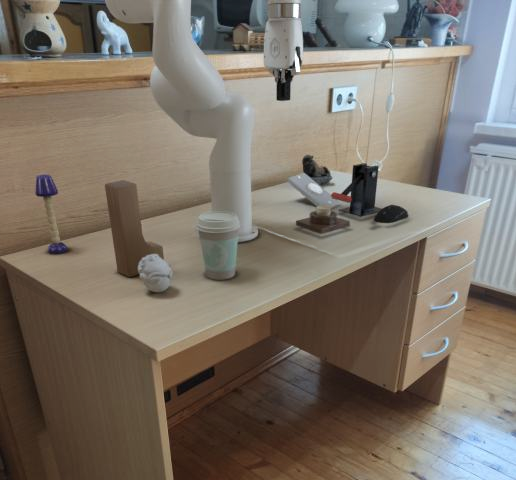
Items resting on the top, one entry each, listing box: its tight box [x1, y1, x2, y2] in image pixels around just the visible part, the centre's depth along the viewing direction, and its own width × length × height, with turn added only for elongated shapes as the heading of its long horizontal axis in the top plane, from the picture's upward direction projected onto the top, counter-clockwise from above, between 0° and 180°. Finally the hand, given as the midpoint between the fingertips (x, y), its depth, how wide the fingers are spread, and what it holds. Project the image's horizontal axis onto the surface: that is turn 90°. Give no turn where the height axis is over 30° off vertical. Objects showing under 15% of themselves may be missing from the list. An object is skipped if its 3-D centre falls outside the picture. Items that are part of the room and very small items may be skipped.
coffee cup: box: [195, 211, 240, 281], centre depth 105 cm, size 8×9×12 cm
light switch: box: [286, 172, 341, 207], centre depth 153 cm, size 8×6×14 cm
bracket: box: [338, 162, 383, 218], centre depth 142 cm, size 10×8×13 cm
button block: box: [295, 210, 351, 235], centre depth 133 cm, size 10×9×4 cm
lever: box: [330, 164, 371, 204], centre depth 139 cm, size 12×6×2 cm, turn 130°
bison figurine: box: [301, 154, 333, 186], centre depth 172 cm, size 12×7×10 cm, turn 130°
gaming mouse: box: [373, 204, 409, 224], centre depth 138 cm, size 6×15×4 cm, turn 138°
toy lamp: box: [34, 174, 69, 255], centre depth 118 cm, size 5×5×17 cm
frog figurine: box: [138, 254, 174, 293], centre depth 100 cm, size 6×7×7 cm
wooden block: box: [104, 179, 165, 278], centre depth 107 cm, size 9×4×18 cm, turn 135°
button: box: [315, 205, 332, 216], centre depth 131 cm, size 4×4×2 cm
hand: (283, 100), depth 133 cm, fingers closed
